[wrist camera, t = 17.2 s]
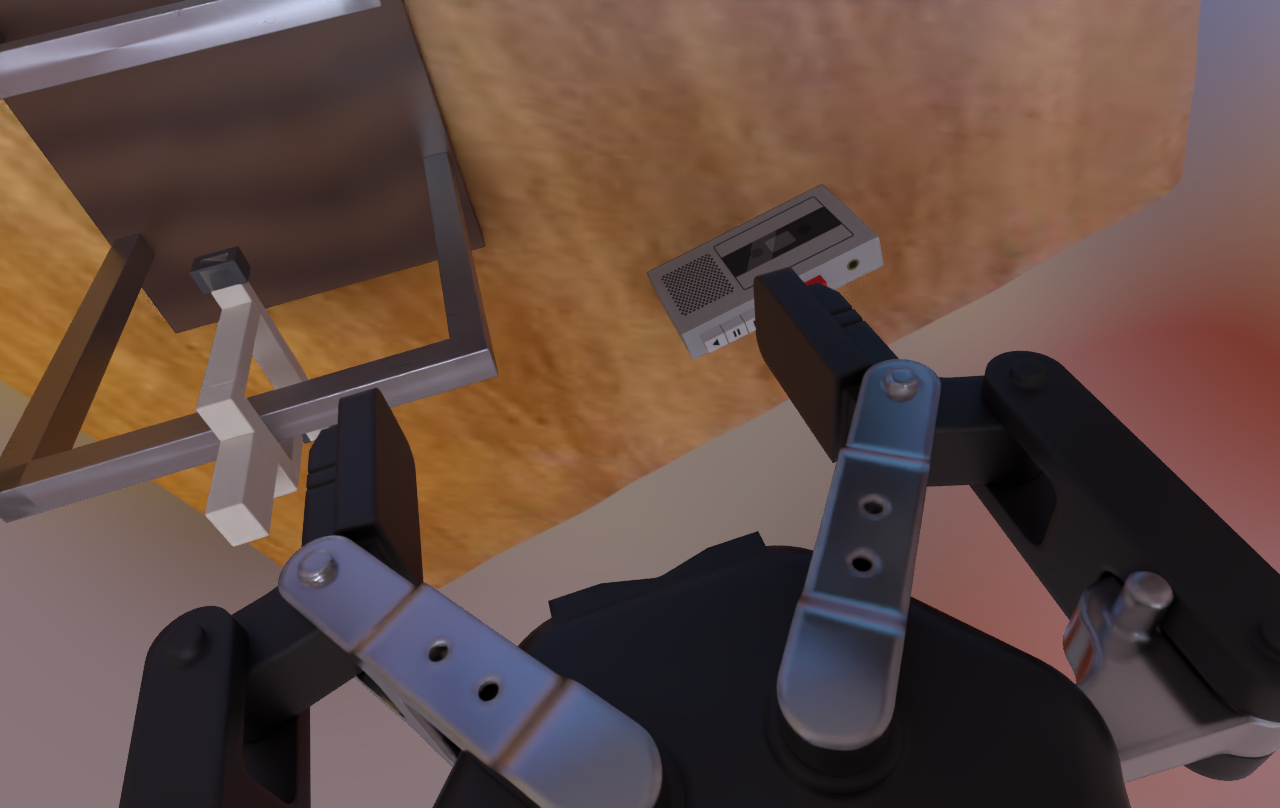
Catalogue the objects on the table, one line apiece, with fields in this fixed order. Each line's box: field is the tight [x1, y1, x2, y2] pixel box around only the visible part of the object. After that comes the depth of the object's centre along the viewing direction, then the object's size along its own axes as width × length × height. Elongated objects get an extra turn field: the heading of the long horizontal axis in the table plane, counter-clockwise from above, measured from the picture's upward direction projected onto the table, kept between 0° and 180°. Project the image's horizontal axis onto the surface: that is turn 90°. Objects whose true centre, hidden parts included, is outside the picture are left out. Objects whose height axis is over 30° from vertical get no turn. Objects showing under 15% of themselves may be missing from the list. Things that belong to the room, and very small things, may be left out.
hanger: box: [189, 246, 337, 546], centre depth 33 cm, size 11×2×13 cm, turn 9°
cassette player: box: [647, 184, 883, 360], centre depth 57 cm, size 16×3×10 cm, turn 112°
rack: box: [0, 0, 498, 523], centre depth 36 cm, size 26×22×24 cm
